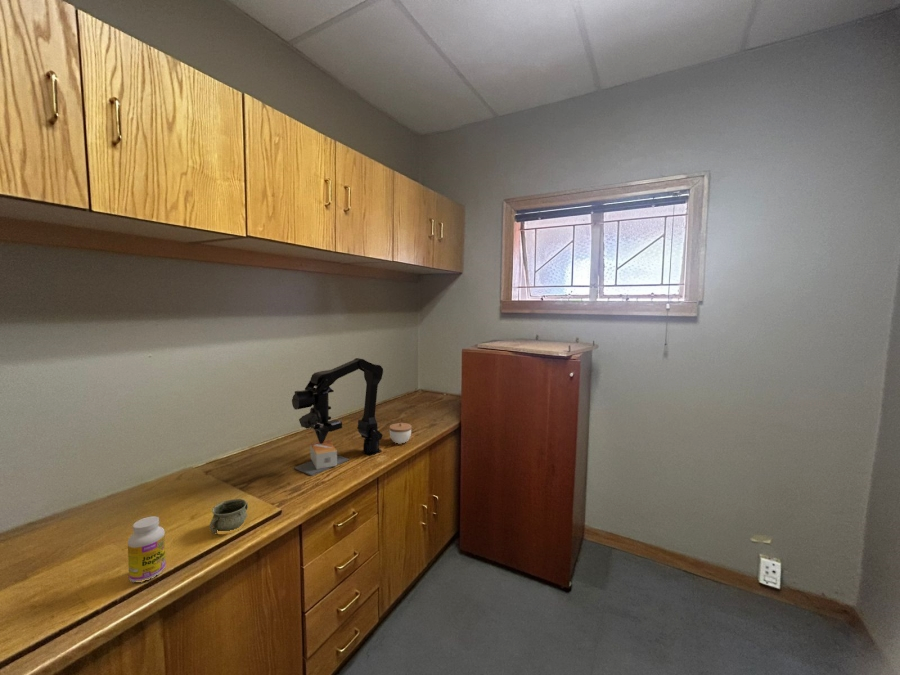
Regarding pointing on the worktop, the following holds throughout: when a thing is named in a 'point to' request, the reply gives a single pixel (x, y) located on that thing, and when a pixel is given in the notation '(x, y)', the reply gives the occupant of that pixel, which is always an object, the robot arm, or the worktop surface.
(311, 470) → the mat
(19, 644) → the worktop surface
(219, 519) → the vessel
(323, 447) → the small box
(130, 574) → the supplement bottle
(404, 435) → the lidded jar
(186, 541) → the worktop surface
